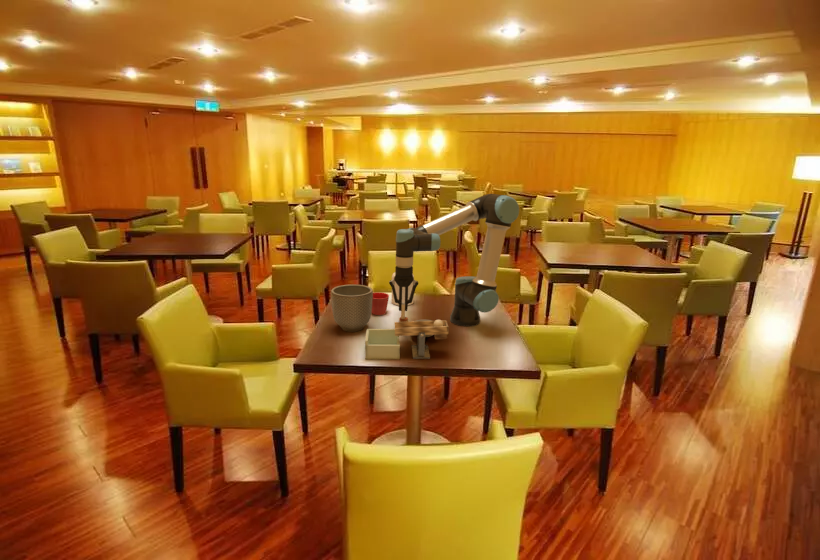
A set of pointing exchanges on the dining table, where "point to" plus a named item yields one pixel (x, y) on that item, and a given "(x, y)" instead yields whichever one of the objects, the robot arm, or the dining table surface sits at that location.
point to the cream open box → (382, 344)
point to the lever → (420, 328)
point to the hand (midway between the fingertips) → (402, 317)
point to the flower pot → (379, 303)
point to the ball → (438, 323)
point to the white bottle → (402, 292)
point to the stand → (420, 348)
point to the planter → (352, 306)
